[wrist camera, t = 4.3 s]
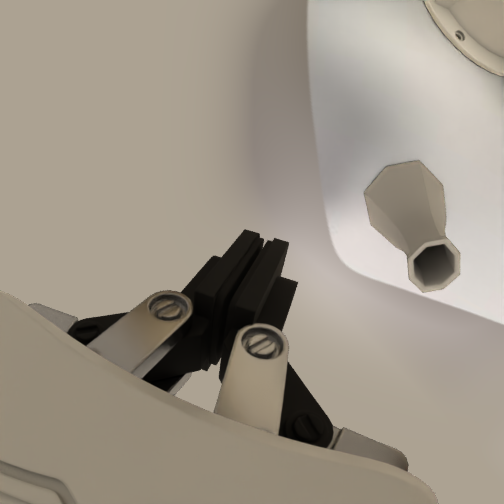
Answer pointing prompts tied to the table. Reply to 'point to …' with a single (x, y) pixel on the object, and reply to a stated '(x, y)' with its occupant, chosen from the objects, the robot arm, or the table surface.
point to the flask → (414, 222)
